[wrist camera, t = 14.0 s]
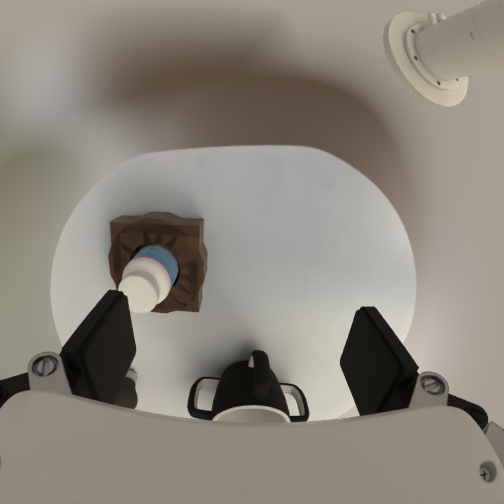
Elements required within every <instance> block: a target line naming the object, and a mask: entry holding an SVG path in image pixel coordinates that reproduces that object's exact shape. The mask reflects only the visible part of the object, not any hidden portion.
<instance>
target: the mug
mask: <svg viewBox="0 0 504 504" xmlns="http://www.w3.org/2000/svg"><path fill="white" fill-rule="evenodd" d="M202 387H216V388H217V389H216V393H215V397H214V400H213V405H212V411H207V410H200V409H197V400H198V394H199V391H200V389H201V388H202ZM283 393H289V394H291V395H292V396H293V397H294V398H295V399H296V402H297V405H298V409H299V414H300V416H290V414H289V410H288V406H287V403H286V399H285V396H284V394H283ZM187 408H188V412H189V414H190V415H191V416H192V417H194V418H198V419H202V420H210V421H223V422H244V423H289V422H306V421H307V420H308V418H309V409H308V405H307V401H306V398H305V396H304V394H303V392H302V391H301V390H300V388H299V387H297V386H296V385H294V384H288V383H279V382H278V380H277V378H276V376H275V374H274V373H273V371H272V370H271V369H270V366H269V360H268V356H267V354H266V353H265V352H264V351H261V350H254V351H252V352H251V354H250V358H249V361H240V362H237V363H234V364H232V365H231V366H229V367H228V368H227V369H226V370H225V371H224V373H223V374H222V376H221V378H216V377H201V378H199V379H197V380H196V381H195V383H194V384H193V385H192V387H191V390H190V394H189V398H188V406H187Z"/></svg>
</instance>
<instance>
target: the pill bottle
mask: <svg viewBox="0 0 504 504" xmlns="http://www.w3.org/2000/svg"><path fill="white" fill-rule="evenodd" d="M179 270H180V265H179V263H178V261H177V258H176V256H175V255H174V254H173V253H172V252H171V251H170V250H169V249H168V248H167V247H165V246H163V245H161V244H158V243H147V244H146V245H145V246H144V247H143V248H142V249H141V250H140V251H139V252H138V253H137V254H136V256H135V257H134V258H133V259H132V260H131V261H130V262H129V263H128V264H127V266H126V267H125V269H124V271H123V275H122V281H121V282H120V284H119V288H118V291H122V292H123V293H124V295H126V296H127V297H128V302H129V309H130V310H131V311H133V312H136V313H147V312H150V311H151V310H152V309H153V308H154V307H155V306H156V304H158V303H160V302H162V301H163V300H164V299H165V298H166V297H167V295H168V293H169V291H170V289H171V287H172V285H173V283H174V281H175V279H176V277H177V274H178V272H179Z"/></svg>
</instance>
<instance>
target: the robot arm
mask: <svg viewBox="0 0 504 504" xmlns="http://www.w3.org/2000/svg"><path fill="white" fill-rule="evenodd" d="M436 16H437V21H438V23H436V18H435V14H433V13H428V18H429V23H427V24H426V25H424V24H415V25H413V26H411V27H409V28H408V29H407V31H406V33H405V36H404V45H405V49H406V53H407V55H408V58H409V60H410V62H411V63H412V65H413V67H414V68H415V70H416V71H417V72H418V73H419V75H420V76H421V77H422V78H423V79H424V80H425V81H426V82H428V83H429V84H430V85H432V86H433V87H435V88H437V89H441V90H450V89H453V88H455V87H456V86H458V84H459V82H460V79H461V78H462V77H467V76H472V75H477V74H482V73H488V72H494V71H500V70H504V0H487V1H485V2H483V3H480V4H478V5H475V6H474V7H471V8H469V9H467V10H464V11H462V12H460V13H458V14H455V15H453V16H451V17H449V18H446V16H445V15H444V14H442V13H438V14H437V15H436ZM135 354H136V344H135V339H134V333H133V328H132V322H131V316H130V309H129V302H128V297H127V296H126V295H124V293H123V292H122V291H117V290H108V291H107V293H106V294H105V295H104V296H103V297H102V299H101V300H100V301H99V302H98V303H97V304H96V306H95V307H94V308H93V309H92V311H91V312H90V313H89V314H88V315H87V317H86V318H85V319H84V320H83V322H82V323H81V324H80V325H79V327H78V328H77V329H76V330H75V332H74V333H73V334H72V336H71V337H70V338H69V340H68V341H67V342H66V343H65V345H64V346H63V347H62V351H61V353H60V354H59V355H58V354H56V353H54V352H42V353H39V354H37V355H36V356H34V357H33V358H32V359H31V360H30V362H29V364H28V372H27V373H24V374H20V375H17V376H14V377H10V378H7V379H3V380H0V504H504V429H502V428H501V427H499V426H498V425H497V424H495V423H494V422H492V421H491V422H490V423H488V416H487V413H486V412H485V410H484V409H483V408H482V407H480V406H478V405H476V404H473V403H471V402H468V401H466V400H463V399H461V398H458V397H456V396H453V395H451V394H449V393H448V392H449V386H448V383H447V381H446V380H445V379H444V378H443V377H442V376H441V375H439V374H437V373H434V372H423V373H421V374H420V375H419V374H418V372H417V370H418V368H419V367H418V366H417V364H416V363H415V361H414V360H413V358H412V357H411V355H410V354H409V353H408V351H407V350H406V348H405V347H404V346H403V344H402V343H401V341H400V340H399V339H398V337H397V336H396V334H395V333H394V332H393V330H392V329H391V328H390V326H389V325H388V323H387V322H386V321H385V319H384V318H383V317H382V315H381V314H380V313H379V311H378V310H377V309H376V308H375V307H361V308H360V310H357V311H356V313H355V316H354V319H353V323H352V326H351V329H350V332H349V335H348V338H347V341H346V344H345V347H344V350H343V353H342V355H341V358H340V366H341V369H342V371H343V374H344V376H345V379H346V381H347V384H348V386H349V389H350V391H351V394H352V396H353V399H354V401H355V404H356V406H357V409H358V412H359V414H360V416H357V417H350V418H342V419H333V420H322V421H309V422H289V423H244V422H223V421H210V420H200V419H190V418H182V417H175V416H168V415H162V414H156V413H150V412H145V411H140V410H135V409H130V408H125V407H120V406H116V405H113V404H114V402H115V400H116V397H117V395H118V392H119V390H120V388H121V385H122V383H123V381H124V379H125V376H126V374H127V372H128V370H129V367H130V365H131V363H132V361H133V359H134V356H135Z"/></svg>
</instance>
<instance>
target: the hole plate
mask: <svg viewBox="0 0 504 504" xmlns="http://www.w3.org/2000/svg"><path fill="white" fill-rule="evenodd" d="M203 227H204V219H195V218H180V217H178V216H176V215H174V214H172V213H167V212H150V213H148V214H145V215H143V216H120V217H118V218H117V219H115V220H113V221H111V222H110V229H111V244H112V245H111V249H110V252H109V265H110V274H111V276H112V278H113V280H114V282H115V284H116V290H117V291H118V288H119V284H120V282H121V281H122V275H123V271H124V269H125V267H126V266H127V264H128V263H129V262H130V261H131V260H132V259H133V258H134V257H135V256H136V254H137V253H138V252H139V250H140V247H141V245H143V244H146V243H158V244H161V245H163V246H165V247H167V248H168V249H169V250H170V251H171V252H172V253H173V254H174V255H175V256H176V258H177V261H178V263H179V265H180V274H179V275H178V276H177V277H176V279H175V281H174V283H173V285H172V287H171V289H170V291H169V293H168V295H167V297H166V298H165V299H164V300H163V301H162V302H160V303H158V304H156V306H155V307H154V308H153V309H152V310H151V311H150V312H158V313H169V312H173V311H176V310H178V311H190V312H199V310H200V305H201V301H202V285H203V283H204V279H205V275H206V271H207V250H206V248H205V245H204V242H203Z"/></svg>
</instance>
